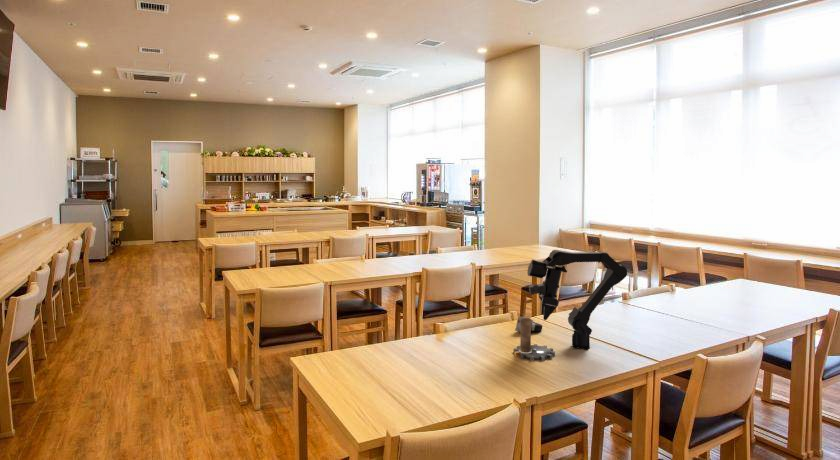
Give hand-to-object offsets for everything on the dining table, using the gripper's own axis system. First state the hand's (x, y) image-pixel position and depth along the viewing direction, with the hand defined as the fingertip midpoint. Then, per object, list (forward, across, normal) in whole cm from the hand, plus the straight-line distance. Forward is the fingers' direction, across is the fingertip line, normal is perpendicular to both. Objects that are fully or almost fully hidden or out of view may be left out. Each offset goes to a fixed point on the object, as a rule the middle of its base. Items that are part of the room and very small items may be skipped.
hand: (543, 317), depth 218 cm
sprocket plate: (+14, +8, -2) cm, 16 cm away
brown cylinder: (+13, +9, -5) cm, 17 cm away
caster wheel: (+13, -24, -1) cm, 27 cm away
